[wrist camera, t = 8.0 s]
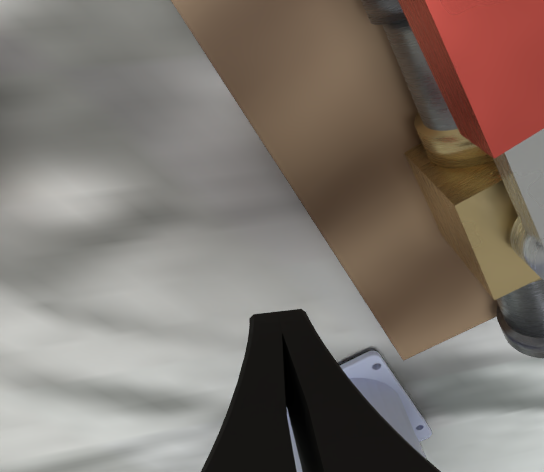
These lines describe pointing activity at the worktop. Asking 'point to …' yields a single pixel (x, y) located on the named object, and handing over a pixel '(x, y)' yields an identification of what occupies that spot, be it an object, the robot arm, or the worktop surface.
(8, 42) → the worktop surface
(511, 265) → the valve pipe
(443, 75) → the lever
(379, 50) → the mounting board
